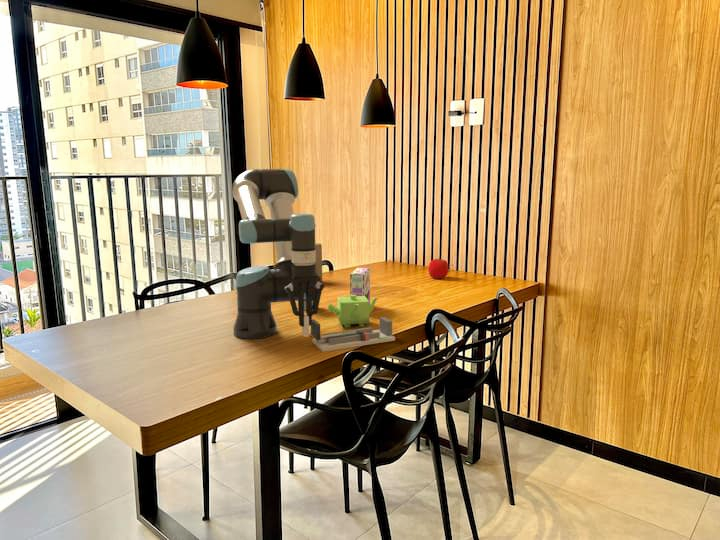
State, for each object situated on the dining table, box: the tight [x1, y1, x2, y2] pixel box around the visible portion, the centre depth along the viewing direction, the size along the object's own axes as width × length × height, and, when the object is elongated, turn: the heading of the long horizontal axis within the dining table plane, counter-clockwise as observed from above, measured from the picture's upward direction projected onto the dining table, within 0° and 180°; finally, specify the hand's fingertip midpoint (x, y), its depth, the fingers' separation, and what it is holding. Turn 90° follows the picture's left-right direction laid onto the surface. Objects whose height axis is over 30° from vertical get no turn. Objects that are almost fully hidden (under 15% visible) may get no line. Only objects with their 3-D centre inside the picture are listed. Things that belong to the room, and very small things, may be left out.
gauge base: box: [312, 316, 396, 352], centre depth 174 cm, size 26×10×6 cm, turn 114°
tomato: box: [428, 258, 450, 280], centre depth 274 cm, size 10×11×11 cm
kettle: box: [327, 295, 381, 328], centre depth 193 cm, size 15×14×11 cm
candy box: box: [349, 267, 371, 306], centre depth 213 cm, size 14×6×16 cm, turn 168°
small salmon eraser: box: [364, 332, 369, 340], centre depth 171 cm, size 1×1×2 cm
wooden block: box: [314, 242, 323, 283], centre depth 266 cm, size 10×10×20 cm
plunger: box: [310, 318, 363, 343], centre depth 170 cm, size 16×8×7 cm, turn 114°
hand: (305, 335), depth 166 cm, fingers closed
